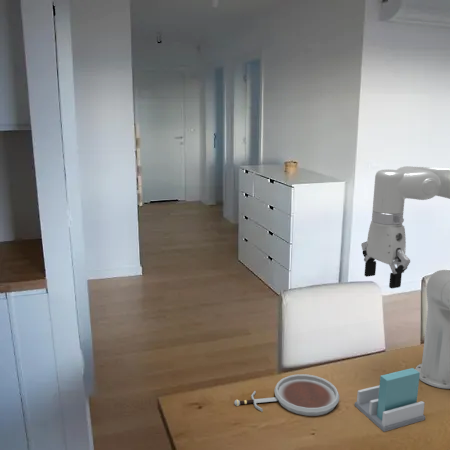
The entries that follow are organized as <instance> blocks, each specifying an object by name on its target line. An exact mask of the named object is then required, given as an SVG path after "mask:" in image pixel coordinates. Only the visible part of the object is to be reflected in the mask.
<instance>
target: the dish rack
mask: <svg viewBox="0 0 450 450" xmlns="http://www.w3.org/2000/svg"><path fill="white" fill-rule="evenodd" d="M379 386H380V384H379V385H375V386H372V387H371V386H370V387H367V388H363V389H362V388H361V389H359V390H357V394H356V395H357V396H356V401H355V402H354V407H355V408H356V409H358V410H359V411H360V412H361V413H362V414H363V415H365V416H366V418H367V419H369V420H370V421H371V422H372V423H374V425H376V426H377V428H379V429H380V430H381V431H382V432H383V433H384V432H388V431H391V430H395V429H398V428H401V427H405V426H408V425H411V424H416V423H418V422H422V421H425V420H426V415H424V411H425V403H426V402H424V401H422V400H421V401H417V403H414V404H410V405H406V406H403V407H399V408H395V409H392V410H388V411H384V412H383V417H382V420H381V419H379V418H378V417H377V408H378V397H379Z"/></svg>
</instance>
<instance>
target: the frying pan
mask: <svg viewBox="0 0 450 450" xmlns="http://www.w3.org/2000/svg"><path fill="white" fill-rule="evenodd" d="M338 391H339V390H338V389H337V387H336V386H335V385H334V384H333V383H332V382H331V381H329V380H327V379H325V378H323V377H320V376H317V375H312V374H308V373H307V374H306V373H304V374H303V373H302V374H301V373H300V374H297V373H296V374H292V375H288V376H286V377H283V378H281V379H280V380H278V382H277V383H276V385H275V387H274V391H273V392H274V396H275V397H265V398H255V397H254V396H255V395H256V390H254V391H253V393H252V394H251V395H250V398H251V399H245V400H239V399H235V400H234V406H236V407H239V406H240V405H247V404H253V406H254V408H255V409H257V410H258V411H261V412H262V413H263V411H264V410H263V409H264V408H262V407H260V406H259V405H257V404H258V403H259V404H260V403H269V402H278V403H279V404H280V406H282V407H283V408H284V409H286V410H287V411H288V412H291V413H294V414H296V415H301V416H307V417H308V416H309V417H316V416H317V417H318V416H323V415H326V414H328V413H330V412H332V411H333V410H334V409H335V407H336V406H337V405H338V403H339V402H340V394H339V392H338Z"/></svg>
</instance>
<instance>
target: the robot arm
mask: <svg viewBox="0 0 450 450" xmlns="http://www.w3.org/2000/svg"><path fill="white" fill-rule="evenodd" d="M434 197H442V198H446V199H450V168H449V167H446V168H444V167H427V166H426V167H424V166H401V167H399V168H397V169H381V170H378V171H376V173H375V176H374V187H373V201H372V211H371V213H372V216H371V221H370V223H369V228H368V233H367V240H366V241H364V242H363V243H361V250H362V256H363V261H364V263H365V264H364V277H367V278H368V277H373V276H376V269H377V261H378V262H381V263H384V264H386V265H389V268H390V269H391V272H390V273H389V285H388V287H389V289H397V288H400V287H401V284H402V275H403V273H405V271H406V270H407V269H408V267H409V265H410V263H411V259H410V258H409V257H408V256H407V255H406V249H407V248H406V247H407V245H406V243H407V242H406V239H407V238H406V228H405V225H403V223H404V221H405V218H404V212H405V211H404V210H405V209H404V208H405V200H406V199H409V200H410V199H411V200H419V201H427V200H430V199H433V198H434ZM396 266H397V267H396ZM426 299H427V300H426V301H427V311H426V312H427V314H426V316H427V317H426V322H425V323H426V324H425V331H424V332H425V334H424V341H423V350H422V360H421V363H419V364H418V365H416V366H415V368H414V369H415V370H417V371H418V372H420V377H419V381H421V382H423V383H425V384H427V385H429V386H432V387H435V388H438V389H447V390H449V389H450V270H448V269H440V270H437V271H435V272H434V273H432V274H431V275H430V276H429V278H428V280H427V283H426Z"/></svg>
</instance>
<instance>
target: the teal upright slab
mask: <svg viewBox="0 0 450 450" xmlns="http://www.w3.org/2000/svg"><path fill="white" fill-rule="evenodd" d="M415 369H416V368H414V367H411V368H405V369H403V370H399V371H394V372H390V373H387V374H382V375H379V385H380V386H379V397H378V408H377V417H378V418H379V419H381V420H382V417H383V412H384V411H388V410H392V409H395V408H399V407H403V406H406V405H410V404H414V403H417V402H418V392H419V384H420V379H419V377H420V372H418V371H417V370H415Z"/></svg>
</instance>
